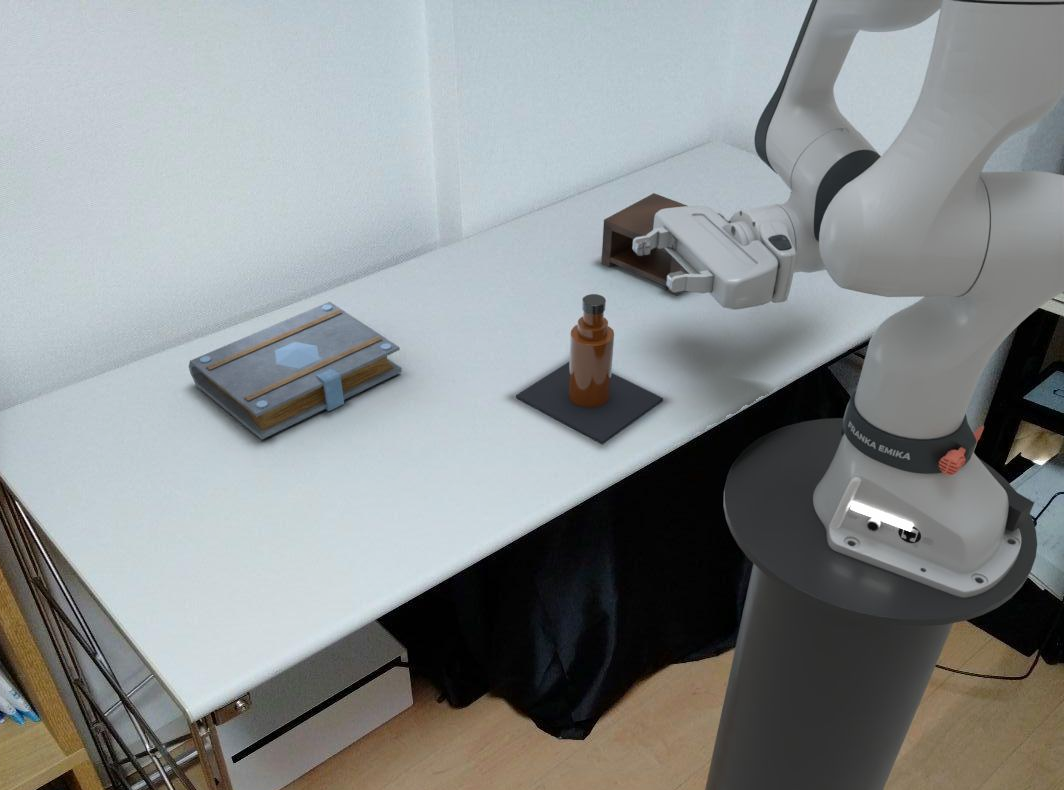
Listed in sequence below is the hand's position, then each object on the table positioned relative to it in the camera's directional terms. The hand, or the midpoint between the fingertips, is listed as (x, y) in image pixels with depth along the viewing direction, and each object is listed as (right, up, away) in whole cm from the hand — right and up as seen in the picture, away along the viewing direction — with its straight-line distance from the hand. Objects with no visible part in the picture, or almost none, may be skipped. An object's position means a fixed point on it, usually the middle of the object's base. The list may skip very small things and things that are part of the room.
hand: (651, 264), depth 122 cm
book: (-44, -12, +10) cm, 47 cm away
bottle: (-7, -14, +7) cm, 18 cm away
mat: (-7, -15, +7) cm, 18 cm away
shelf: (+6, +9, +33) cm, 34 cm away
